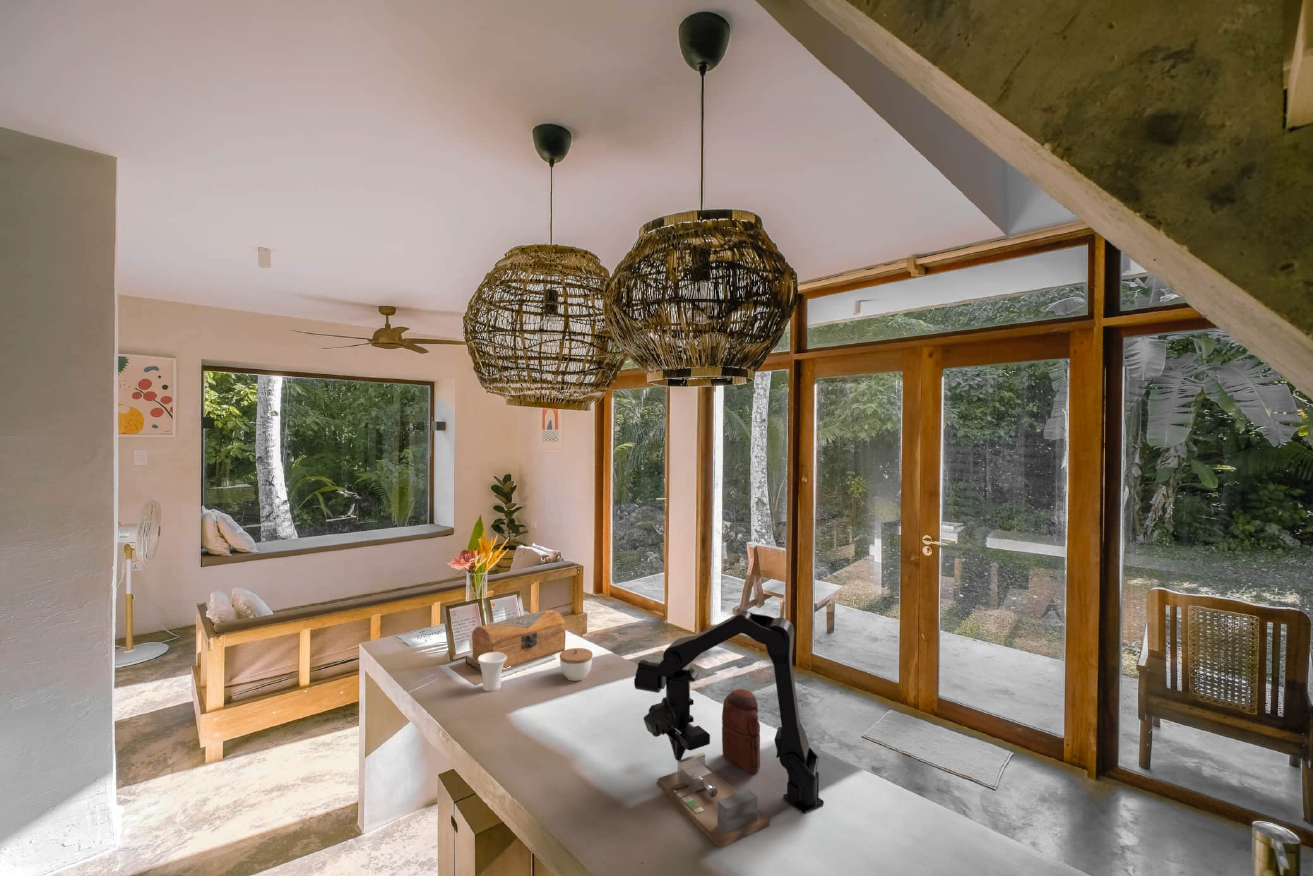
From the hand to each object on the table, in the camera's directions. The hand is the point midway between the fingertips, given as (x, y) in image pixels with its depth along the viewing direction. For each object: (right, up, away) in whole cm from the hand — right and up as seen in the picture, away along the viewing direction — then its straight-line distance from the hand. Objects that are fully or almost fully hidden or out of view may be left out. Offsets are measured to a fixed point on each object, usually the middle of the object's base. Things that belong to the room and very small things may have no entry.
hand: (678, 759), depth 142 cm
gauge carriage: (+4, -2, -9) cm, 10 cm away
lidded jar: (-32, -2, +55) cm, 63 cm away
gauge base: (+7, -4, -12) cm, 14 cm away
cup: (-57, -2, +47) cm, 74 cm away
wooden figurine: (+16, -4, +5) cm, 17 cm away
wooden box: (-54, -2, +72) cm, 90 cm away
